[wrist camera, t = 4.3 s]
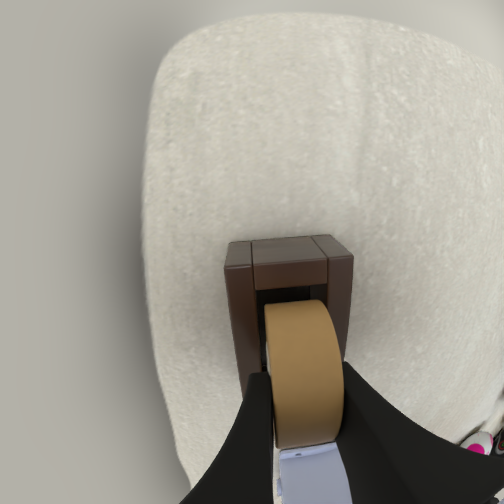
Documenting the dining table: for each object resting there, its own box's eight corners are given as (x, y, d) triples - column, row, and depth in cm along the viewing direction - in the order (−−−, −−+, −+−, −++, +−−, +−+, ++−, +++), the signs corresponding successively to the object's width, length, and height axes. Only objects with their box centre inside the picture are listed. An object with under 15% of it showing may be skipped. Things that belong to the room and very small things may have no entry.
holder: (245, 379, 15) (245, 417, 12) (228, 242, 12) (223, 266, 9) (323, 370, 15) (336, 407, 12) (330, 234, 12) (354, 255, 9)
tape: (267, 380, 13) (275, 473, 7) (260, 280, 11) (270, 374, 6) (308, 375, 13) (331, 465, 7) (310, 275, 11) (357, 361, 6)
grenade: (503, 445, 26) (516, 424, 22) (501, 469, 21) (516, 453, 17) (480, 452, 30) (490, 433, 26) (478, 476, 25) (488, 463, 20)
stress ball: (461, 497, 14) (434, 478, 19) (475, 466, 19) (451, 448, 24) (498, 466, 12) (470, 446, 17) (506, 435, 17) (481, 417, 22)
